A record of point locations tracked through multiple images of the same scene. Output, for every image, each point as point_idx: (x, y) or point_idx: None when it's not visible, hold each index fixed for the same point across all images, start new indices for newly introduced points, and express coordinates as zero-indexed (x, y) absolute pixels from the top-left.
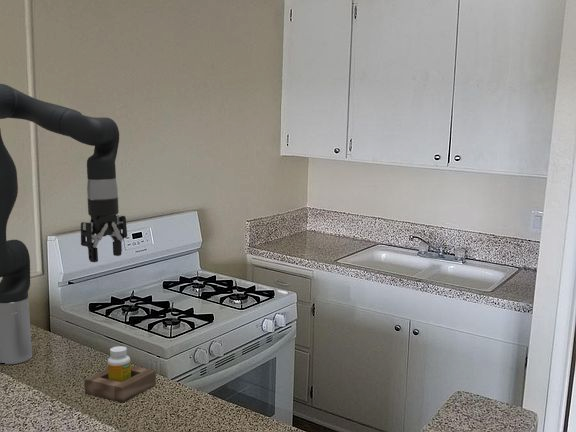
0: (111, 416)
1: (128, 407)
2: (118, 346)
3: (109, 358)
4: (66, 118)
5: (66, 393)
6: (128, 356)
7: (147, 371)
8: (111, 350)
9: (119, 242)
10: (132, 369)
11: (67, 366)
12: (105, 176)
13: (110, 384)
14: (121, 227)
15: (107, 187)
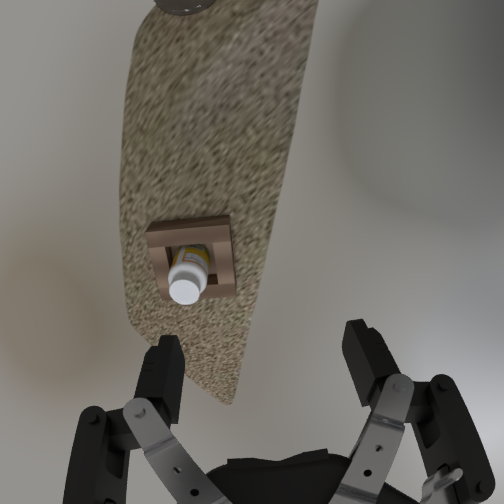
0: (135, 301)
1: (162, 301)
2: (192, 284)
3: (173, 273)
4: None
5: (133, 199)
6: (201, 291)
7: (227, 289)
8: (170, 289)
9: (364, 405)
10: (219, 265)
11: (212, 95)
12: None
13: (158, 279)
14: (430, 457)
15: None
